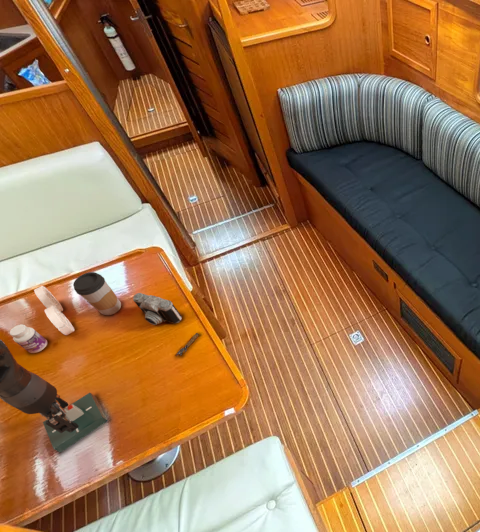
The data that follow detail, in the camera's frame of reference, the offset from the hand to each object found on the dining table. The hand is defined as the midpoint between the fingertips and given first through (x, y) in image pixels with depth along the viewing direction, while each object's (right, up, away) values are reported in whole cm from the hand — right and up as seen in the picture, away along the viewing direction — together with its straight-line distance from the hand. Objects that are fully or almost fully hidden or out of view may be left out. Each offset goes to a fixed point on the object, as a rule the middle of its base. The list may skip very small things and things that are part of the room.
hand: (69, 417), depth 107 cm
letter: (-24, +23, +27) cm, 43 cm away
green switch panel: (0, -3, +3) cm, 4 cm away
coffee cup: (-10, +26, +30) cm, 41 cm away
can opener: (+22, +16, +20) cm, 33 cm away
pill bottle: (-26, +15, +20) cm, 36 cm away
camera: (+8, +23, +27) cm, 37 cm away
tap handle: (0, -1, +1) cm, 1 cm away
